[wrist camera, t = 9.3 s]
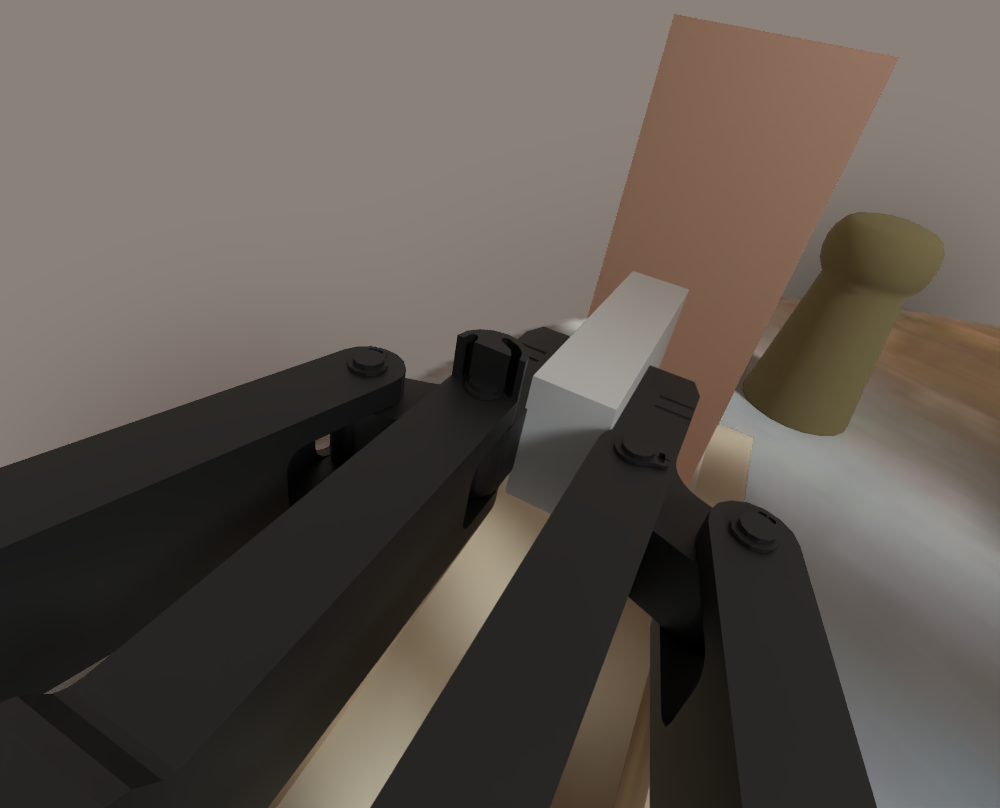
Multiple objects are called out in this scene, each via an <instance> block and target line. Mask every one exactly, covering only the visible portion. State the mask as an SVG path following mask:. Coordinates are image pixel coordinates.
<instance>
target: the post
mask: <svg viewBox="0 0 1000 808" xmlns="http://www.w3.org/2000/svg"><path fill="white" fill-rule="evenodd" d="M898 59H899V57H895V56H889V55H885V54H880V53H874V52H869V51H864V50H859V49H853V48H848V47H843V46H838V45H833V44H827V43H822V42H817V41H812V40H806V39H802V38H796V37H791V36H786V35H781V34H775V33H770V32H765V31H760V30H754V29H750V28H744V27H739V26H734V25H728V24H723V23H718V22H713V21H708V20H703V19H697V18H692V17H687V16H681V15H676V14H674V17H673V20H672V24H671V27H670V31H669V34H668V38H667V41H666V45H665V48H664V52H663V55H662V59H661V62H660V66H659V70H658V73H657V76H656V80H655V83H654V87H653V90H652V94H651V97H650V101H649V104H648V108H647V111H646V115H645V118H644V122H643V125H642V129H641V132H640V136H639V139H638V142H637V147H636V149H635V153H634V156H633V160H632V163H631V167H630V171H629V174H628V178H627V181H626V184H625V188H624V191H623V195H622V199H621V202H620V206H619V209H618V213H617V216H616V220H615V223H614V226H613V230H612V233H611V237H610V240H609V244H608V247H607V251H606V255H605V258H604V262H603V265H602V268H601V272H600V276H599V279H598V282H597V286H596V290H595V293H594V296H593V300H592V304H591V307H590V311H589V314H588V317H587V319H588V318H589V317H590V316H591V315H592V314H593V312H594V311H595V310H596V309H597V308H598V307H599V306H600V305H601V304H602V303H603V302H604V301H605V300H606V299H607V298H608V297H609V296H610V295H611V294H612V293H613V291H614V290H615V289H616V288H617V287H618V286H619V285H620V284H621V283H622V282H623V281H624V280H625V279H626V278H627V277H628V276H629V275H630V274H631V273H632V272H633V271H635V272H638V273H641V274H644V275H647V276H650V277H653V278H656V279H659V280H662V281H665V282H668V283H671V284H674V285H677V286H680V287H683V288H686V289H689V292H688V295H687V297H686V300H685V302H684V305H683V308H682V310H681V313H680V315H679V318H678V320H677V323H676V325H675V328H674V331H673V333H672V336H671V338H670V341H669V343H668V346H667V349H666V351H665V354H664V356H663V359H662V361H661V364H660V366H659V369H662V370H664V371H667V372H669V373H672V374H675V375H677V376H680V377H683V378H685V379H688V380H691V381H693V382H695V384H696V387H697V390H698V392H699V395H700V398H699V401H698V404H697V406H696V409H695V412H694V414H693V417H692V420H691V423H690V425H689V428H688V431H687V433H686V436H685V439H684V441H683V444H682V447H681V450H680V452H679V455H678V458H677V463H676V468H677V472H678V475H679V476H680V478H681V480H682V482H683V483H684V484H685V485H686V486H688V484H689V482H690V480H691V478H692V476H693V474H694V472H695V470H696V468H697V466H698V464H699V462H700V460H701V458H702V456H703V454H704V452H705V450H706V448H707V446H708V444H709V442H710V440H711V438H712V436H713V434H714V432H715V430H716V428H717V426H718V424H719V422H720V419H721V417H722V415H723V413H724V411H725V409H726V407H727V405H728V403H729V401H730V399H731V397H732V395H733V393H734V391H735V389H736V387H737V385H738V383H739V381H740V379H741V377H742V375H743V373H744V371H745V369H746V367H747V365H748V363H749V361H750V359H751V357H752V355H753V353H754V351H755V349H756V346H757V344H758V342H759V340H760V338H761V336H762V334H763V332H764V330H765V328H766V326H767V324H768V322H769V320H770V318H771V316H772V314H773V312H774V310H775V308H776V306H777V304H778V302H779V300H780V298H781V296H782V294H783V292H784V290H785V288H786V286H787V284H788V282H789V279H790V277H791V275H792V273H793V271H794V269H795V267H796V265H797V263H798V261H799V259H800V257H801V255H802V253H803V251H804V249H805V247H806V245H807V243H808V241H809V239H810V237H811V235H812V233H813V230H814V229H815V227H816V225H817V223H818V221H819V219H820V217H821V215H822V213H823V211H824V209H825V206H826V204H827V203H828V200H829V198H830V196H831V194H832V192H833V190H834V188H835V186H836V184H837V182H838V180H839V178H840V176H841V174H842V172H843V170H844V168H845V166H846V164H847V162H848V160H849V158H850V156H851V153H852V152H853V150H854V148H855V146H856V144H857V141H858V140H859V137H860V135H861V134H862V131H863V130H864V127H865V125H866V123H867V121H868V119H869V117H870V115H871V113H872V111H873V109H874V107H875V105H876V103H877V101H878V99H879V97H880V95H881V93H882V91H883V89H884V87H885V85H886V83H887V81H888V79H889V77H890V75H891V73H892V71H893V69H894V67H895V65H896V62H897V61H898Z"/></svg>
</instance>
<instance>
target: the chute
mask: <svg viewBox="0 0 1000 808" xmlns="http://www.w3.org/2000/svg"><path fill="white" fill-rule="evenodd" d="M752 445H753V437H750V436H748V435H745V434H743V433H740V432H737V431H735V430H732V429H730V428H727V427H724V426H722V425H719V424H718V426H717V428H716V430H715V432H714V434H713V436H712V438H711V440H710V442H709V444H708V446H707V448H706V450H705V452H704V454H703V456H702V458H701V460H700V462H699V464H698V466H697V468H696V470H695V472H694V474H693V476H692V478H691V480H690V482H689V484H688V486H687V488H688V489H689V490H690V491H691V492H692V493H694V494H695V495H696V496H697V497H698V498H700V499H701V500H702V501H704V502H705V503H707V504H708V505H710V506H711V507H712V508H713V507H714V506H715V505H716V504H717V503H719V502H724V501H730V500H734V501H740V502H744V499H745V492H746V485H747V479H748V472H749V465H750V458H751V452H752ZM508 477H509V474H508V476H507V477H506V478H505V479H504V481H503V482H502V483H501V485H500V486H499V488H498V493H497V497H496V501H495V503H494V506H493V508H492V510H491V511H490V512H489V514H488V515H487V516H486V518H485V519H484V520H483V522H482V523H481V524H480V526H479V527H478V528H477V530H476V531H475V532H474V534H473V535H472V536H471V538H470V539H469V540H468V542H467V543H466V544H465V546H464V547H463V548H462V550H461V551H460V552H459V554H458V555H457V556H456V558H455V559H454V560H453V562H452V563H451V564H450V566H449V567H448V568H447V570H446V571H445V572H444V574H443V575H442V576H441V578H440V579H439V580H438V582H437V583H436V584H435V586H434V587H433V588H432V590H431V591H430V592H429V594H428V595H427V596H426V598H425V599H424V600H423V602H422V603H421V604H420V606H419V607H418V608H417V610H416V611H415V612H414V614H413V615H412V616H411V618H410V619H409V620H408V622H407V623H406V624H405V626H404V627H403V628H402V630H401V631H400V632H399V634H398V635H397V636H396V638H395V639H394V640H393V642H392V643H391V644H390V646H389V647H388V648H387V650H386V651H385V652H384V654H383V655H382V656H381V658H380V659H379V660H378V662H377V663H376V664H375V666H374V667H373V668H372V670H371V671H370V672H369V674H368V675H367V676H366V678H365V679H364V680H363V682H362V683H361V684H360V686H359V687H358V688H357V690H356V691H355V692H354V694H353V695H352V696H351V698H350V699H349V700H348V702H347V703H346V704H345V706H344V707H343V708H342V710H341V711H340V712H339V714H338V715H337V716H336V718H335V719H334V720H333V722H332V723H331V724H330V726H329V727H328V728H327V730H326V731H325V732H324V734H323V735H322V736H321V738H320V739H319V740H318V742H317V743H316V744H315V746H314V747H313V748H312V750H311V751H310V752H309V754H308V755H307V756H306V758H305V759H304V760H303V762H302V763H301V764H300V766H299V767H298V768H297V770H296V771H295V772H294V774H293V775H292V776H291V778H290V779H289V780H288V782H287V783H286V784H285V786H284V787H283V788H282V790H281V791H280V792H279V794H278V795H277V796H276V798H275V799H274V800H273V802H272V803H271V804H270V806H269V807H268V808H370V807H371V805H372V804H373V802H374V801H375V799H376V797H377V796H378V794H379V792H380V791H381V789H382V788H383V786H384V784H385V783H386V781H387V779H388V778H389V776H390V775H391V773H392V771H393V770H394V768H395V767H396V765H397V763H398V762H399V760H400V758H401V757H402V755H403V754H404V752H405V750H406V749H407V747H408V745H409V744H410V742H411V741H412V739H413V737H414V736H415V734H416V732H417V731H418V729H419V728H420V726H421V724H422V723H423V721H424V720H425V718H426V716H427V715H428V713H429V711H430V710H431V708H432V707H433V705H434V703H435V702H436V700H437V698H438V697H439V695H440V694H441V692H442V690H443V689H444V687H445V685H446V684H447V682H448V681H449V679H450V677H451V676H452V674H453V672H454V671H455V669H456V668H457V666H458V664H459V663H460V661H461V660H462V658H463V656H464V655H465V653H466V651H467V650H468V648H469V647H470V645H471V643H472V642H473V640H474V638H475V637H476V635H477V634H478V632H479V630H480V629H481V627H482V625H483V624H484V622H485V621H486V619H487V617H488V616H489V614H490V613H491V611H492V609H493V608H494V606H495V604H496V603H497V601H498V600H499V598H500V596H501V595H502V593H503V591H504V590H505V588H506V587H507V585H508V583H509V582H510V580H511V578H512V577H513V575H514V574H515V572H516V570H517V569H518V567H519V565H520V564H521V562H522V561H523V559H524V557H525V556H526V554H527V553H528V551H529V549H530V548H531V546H532V544H533V543H534V541H535V540H536V538H537V536H538V535H539V533H540V531H541V530H542V528H543V527H544V525H545V523H546V522H547V520H548V518H549V517H550V515H551V514H550V513H548V512H546V511H544V510H541V509H539V508H537V507H535V506H533V505H531V504H529V503H527V502H525V501H523V500H521V499H519V498H516V497H514V496H512V495H510V494H508V493H506V492H505V490H506V485H507V481H508ZM651 621H652V617H651V616H650V615H648V614H647V613H646V612H645V611H644V610H643V609H642V608H640V607H639V606H638V605H637V604H636V603H635V602H634V601H632V600H631V599H630V598H629V597H628V599H627V601H626V604H625V607H624V609H623V612H622V615H621V617H620V620H619V623H618V626H617V628H616V631H615V634H614V636H613V639H612V642H611V644H610V647H609V650H608V653H607V655H606V658H605V661H604V663H603V666H602V669H601V671H600V674H599V677H598V679H597V682H596V685H595V688H594V690H593V693H592V696H591V698H590V701H589V704H588V706H587V709H586V712H585V715H584V717H583V720H582V723H581V725H580V728H579V731H578V733H577V736H576V739H575V742H574V744H573V747H572V750H571V752H570V755H569V758H568V760H567V763H566V766H565V768H564V771H563V774H562V777H561V779H560V782H559V785H558V787H557V790H556V793H555V795H554V798H553V801H552V804H551V806H550V808H650V625H651Z"/></svg>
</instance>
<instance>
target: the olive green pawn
mask: <svg viewBox="0 0 1000 808" xmlns="http://www.w3.org/2000/svg"><path fill="white" fill-rule="evenodd" d="M943 258H944V244H943V242H942V241H941V240H940V238H939V237H938V236H937V235H936V234H934V233H932V232H931V231H929V230H928V229H926V228H924V227H922V226H921V225H918V224H916V223H914V222H911V221H909V220H906V219H903V218H900V217H896V216H892V215H887V214H879V213H867V212H859V213H854V214H850V215H848V216H846V217H845V218H843V219H842V220H840V221H839V222H837V223H836V224H835V225H834V227H833V228H832V229H831V230H830V231H829V233H828V234H827V236H826V238H825V240H824V242H823V244H822V249H821V254H820V260H821V266H822V271H821V273H820V274H819V275H818V277H817V278H816V280H815V281H814V283H813V284H812V285H811V287H810V288H809V290H808V291H807V293H806V294H805V296H804V297H803V298H802V300H801V301H800V303H799V304H798V306H797V307H796V308H795V310H794V311H793V313H792V314H791V316H790V317H789V318H788V320H787V321H786V323H785V324H784V326H783V327H782V329H781V330H780V331H779V333H778V334H777V336H776V337H775V339H774V340H773V341H772V343H771V344H770V346H769V347H768V349H767V350H766V351H765V353H764V354H763V356H762V357H761V359H760V360H759V362H758V363H757V364H756V366H755V367H754V369H753V370H752V372H751V373H750V374H749V376H748V377H747V379H746V380H745V382H744V384H743V391H744V393H745V395H746V397H747V399H748V400H749V401H750V402H751V403H752V404H753V405H754V406H755V407H756V408H757V409H758V410H759V411H761V412H762V413H764V414H765V415H767V416H768V417H769V418H771V419H773V420H775V421H777V422H779V423H781V424H783V425H785V426H787V427H790V428H793V429H796V430H798V431H801V432H804V433H809V434H814V435H820V436H834V435H837V434H840V433H842V432H844V431H845V429H846V427H847V426H848V424H849V421H850V419H851V417H852V415H853V412H854V410H855V408H856V406H857V404H858V401H859V399H860V397H861V395H862V393H863V390H864V388H865V386H866V384H867V382H868V379H869V377H870V375H871V373H872V371H873V368H874V366H875V364H876V362H877V360H878V357H879V355H880V353H881V351H882V349H883V346H884V344H885V342H886V340H887V338H888V335H889V333H890V331H891V329H892V327H893V324H894V322H895V320H896V318H897V316H898V313H899V311H900V309H901V307H902V305H903V302H904V300H905V299H906V298H909V297H911V296H913V295H915V294H917V293H919V292H920V291H922V290H923V289H924V288H925V287H926V286H927V285H928V284H929V283H930V282H931V280H932V279H933V277H934V276H935V275H936V273H937V272H938V270H939V269H940V267H941V264H942V261H943Z"/></svg>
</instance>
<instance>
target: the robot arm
mask: <svg viewBox="0 0 1000 808" xmlns="http://www.w3.org/2000/svg"><path fill="white" fill-rule="evenodd" d="M688 292H689V289H686V288H683V287H680V286H677V285H674V284H671V283H668V282H665V281H662V280H659V279H656V278H653V277H650V276H647V275H644V274H641V273H638V272H635V271H633V272H632V273H631V274H630V275H629V276H628V277H627V278H626V279H625V280H624V281H623V282H622V283H621V284H620V285H619V286H618V287H617V288H616V289H615V290H614V291H613V293H612V294H611V295H610V296H609V297H608V298H607V299H606V300H605V301H604V302H603V303H602V304H601V305H600V306H599V307H598V308H597V309H596V310H595V311H594V312H593V314H592V315H591V316H590V317H589V318H588V319H587V320H586V321H585V322H584V323H583V324H582V325H581V326H580V327H579V328H578V329H577V330H576V331H575V332H574V333H573V334H572V336H571V337H570V336H567V335H564V334H562V333H559V332H556V331H554V330H551V329H548V328H546V327H541V328H538V329H534V330H531V331H527V332H526V333H525V334H523V335H522V336H521V337H520V338H519V339H518V340H517V339H515V338H513V337H512V336H510V335H508V334H504V333H500V332H497V331H492V330H481V329H479V330H471V331H466V332H464V333H462V334H459V335H458V337H457V343H456V350H455V357H454V364H453V371H452V375H451V376H450V377H449V378H448V379H446V380H445V381H444V382H443V383H441V384H433V383H427V382H422V381H417V380H412V379H408V378H405V372H406V368H405V364H404V361H403V360H402V359H401V358H400V357H399V356H398V355H396V354H394V353H392V352H390V351H388V350H385V349H382V348H377V347H372V346H369V347H354V348H349V349H345V350H342V351H339V352H336V353H333V354H330V355H327V356H324V357H321V358H319V359H315V360H313V361H310V362H307V363H304V364H301V365H298V366H295V367H292V368H290V369H286V370H284V371H281V372H278V373H275V374H272V375H269V376H266V377H263V378H260V379H257V380H254V381H252V382H249V383H246V384H243V385H240V386H237V387H234V388H231V389H228V390H225V391H222V392H219V393H217V394H214V395H211V396H208V397H205V398H202V399H199V400H196V401H194V402H190V403H188V404H185V405H182V406H179V407H176V408H173V409H170V410H167V411H165V412H162V413H159V414H155V415H153V416H150V417H147V418H144V419H141V420H138V421H135V422H132V423H129V424H127V425H124V426H121V427H118V428H115V429H112V430H109V431H106V432H103V433H100V434H97V435H95V436H92V437H89V438H86V439H83V440H80V441H77V442H74V443H71V444H68V445H65V446H62V447H60V448H57V449H54V450H51V451H48V452H45V453H42V454H40V455H36V456H34V457H31V458H28V459H25V460H22V461H19V462H16V463H13V464H10V465H7V466H4V467H1V468H0V808H268V807H269V806H270V804H271V803H272V802H273V800H274V799H275V798H276V796H277V795H278V794H279V792H280V791H281V790H282V788H283V787H284V786H285V784H286V783H287V782H288V780H289V779H290V778H291V776H292V775H293V774H294V772H295V771H296V770H297V768H298V767H299V766H300V764H301V763H302V762H303V760H304V759H305V758H306V756H307V755H308V754H309V752H310V751H311V750H312V748H313V747H314V746H315V744H316V743H317V742H318V740H319V739H320V738H321V736H322V735H323V734H324V732H325V731H326V730H327V728H328V727H329V726H330V724H331V723H332V722H333V720H334V719H335V718H336V716H337V715H338V714H339V712H340V711H341V710H342V708H343V707H344V706H345V704H346V703H347V702H348V700H349V699H350V698H351V696H352V695H353V694H354V692H355V691H356V690H357V688H358V687H359V686H360V684H361V683H362V682H363V680H364V679H365V678H366V676H367V675H368V674H369V672H370V671H371V670H372V668H373V667H374V666H375V664H376V663H377V662H378V660H379V659H380V658H381V656H382V655H383V654H384V652H385V651H386V650H387V648H388V647H389V646H390V644H391V643H392V642H393V640H394V639H395V638H396V636H397V635H398V634H399V632H400V631H401V630H402V628H403V627H404V626H405V624H406V623H407V622H408V620H409V619H410V618H411V616H412V615H413V614H414V612H415V611H416V610H417V608H418V607H419V606H420V604H421V603H422V602H423V600H424V599H425V598H426V596H427V595H428V594H429V592H430V591H431V590H432V588H433V587H434V586H435V584H436V583H437V582H438V580H439V579H440V578H441V576H442V575H443V574H444V572H445V571H446V570H447V568H448V567H449V566H450V564H451V563H452V562H453V560H454V559H455V558H456V556H457V555H458V554H459V552H460V551H461V550H462V548H463V547H464V546H465V544H466V543H467V542H468V540H469V539H470V538H471V536H472V535H473V534H474V532H475V531H476V530H477V528H478V527H479V526H480V524H481V523H482V522H483V520H484V519H485V518H486V516H487V515H488V514H489V512H490V511H491V510H492V508H493V506H494V503H495V501H496V497H497V493H498V488H499V486H500V485H501V483H502V482H503V481H504V479H505V478H506V477H507V476H508V474H509V477H508V481H507V485H506V490H505V492H506V493H508V494H510V495H512V496H514V497H516V498H519V499H521V500H523V501H525V502H527V503H529V504H531V505H533V506H535V507H537V508H539V509H541V510H544V511H546V512H548V513H550V514H551V515H550V517H549V518H548V520H547V522H546V523H545V525H544V527H543V528H542V530H541V531H540V533H539V535H538V536H537V538H536V540H535V541H534V543H533V544H532V546H531V548H530V549H529V551H528V553H527V554H526V556H525V557H524V559H523V561H522V562H521V564H520V565H519V567H518V569H517V570H516V572H515V574H514V575H513V577H512V578H511V580H510V582H509V583H508V585H507V587H506V588H505V590H504V591H503V593H502V595H501V596H500V598H499V600H498V601H497V603H496V604H495V606H494V608H493V609H492V611H491V613H490V614H489V616H488V617H487V619H486V621H485V622H484V624H483V625H482V627H481V629H480V630H479V632H478V634H477V635H476V637H475V638H474V640H473V642H472V643H471V645H470V647H469V648H468V650H467V651H466V653H465V655H464V656H463V658H462V660H461V661H460V663H459V664H458V666H457V668H456V669H455V671H454V672H453V674H452V676H451V677H450V679H449V681H448V682H447V684H446V685H445V687H444V689H443V690H442V692H441V694H440V695H439V697H438V698H437V700H436V702H435V703H434V705H433V707H432V708H431V710H430V711H429V713H428V715H427V716H426V718H425V720H424V721H423V723H422V724H421V726H420V728H419V729H418V731H417V732H416V734H415V736H414V737H413V739H412V741H411V742H410V744H409V745H408V747H407V749H406V750H405V752H404V754H403V755H402V757H401V758H400V760H399V762H398V763H397V765H396V767H395V768H394V770H393V771H392V773H391V775H390V776H389V778H388V779H387V781H386V783H385V784H384V786H383V788H382V789H381V791H380V792H379V794H378V796H377V797H376V799H375V801H374V802H373V804H372V805H371V807H370V808H550V806H551V804H552V801H553V798H554V795H555V793H556V790H557V787H558V785H559V782H560V779H561V777H562V774H563V771H564V768H565V766H566V763H567V760H568V758H569V755H570V752H571V750H572V747H573V744H574V742H575V739H576V736H577V733H578V731H579V728H580V725H581V723H582V720H583V717H584V715H585V712H586V709H587V706H588V704H589V701H590V698H591V696H592V693H593V690H594V688H595V685H596V682H597V679H598V677H599V674H600V671H601V669H602V666H603V663H604V661H605V658H606V655H607V653H608V650H609V647H610V644H611V642H612V639H613V636H614V634H615V631H616V628H617V626H618V623H619V620H620V617H621V615H622V612H623V609H624V607H625V604H626V601H627V599H628V597H629V598H630V599H631V600H632V601H634V602H635V603H636V604H637V605H638V606H639V607H640V608H642V609H643V610H644V611H645V612H646V613H647V614H648V615H650V616H651V617H652V621H651V625H650V808H877V806H876V803H875V799H874V796H873V793H872V789H871V786H870V782H869V779H868V776H867V772H866V769H865V765H864V762H863V759H862V755H861V752H860V748H859V745H858V742H857V738H856V735H855V731H854V728H853V725H852V721H851V718H850V714H849V711H848V708H847V704H846V701H845V697H844V694H843V691H842V687H841V684H840V680H839V677H838V674H837V670H836V667H835V663H834V660H833V656H832V653H831V650H830V646H829V643H828V639H827V636H826V633H825V629H824V626H823V622H822V619H821V616H820V612H819V609H818V605H817V602H816V599H815V595H814V592H813V588H812V585H811V582H810V578H809V575H808V571H807V568H806V565H805V561H804V558H803V554H802V551H801V548H800V545H799V543H798V541H797V540H796V538H795V536H794V534H793V532H792V531H791V530H790V529H789V528H788V527H787V526H786V525H785V524H784V523H783V522H782V521H781V520H780V519H778V518H777V517H775V516H774V515H772V514H771V513H769V512H768V511H766V510H765V509H762V508H760V507H757V506H755V505H752V504H750V503H747V502H740V501H734V500H730V501H724V502H719V503H717V504H716V505H715V506H714V507H713V508H712V507H711V506H710V505H708V504H707V503H705V502H704V501H702V500H701V499H700V498H698V497H697V496H696V495H695V494H694V493H692V492H691V491H690V490H689V489H688V488H687V486H686V485H685V484H684V483H683V482H682V480H681V478H680V476H679V475H678V472H677V468H676V463H677V458H678V455H679V452H680V450H681V447H682V444H683V441H684V439H685V436H686V433H687V431H688V428H689V425H690V423H691V420H692V417H693V414H694V412H695V409H696V406H697V404H698V401H699V398H700V395H699V392H698V390H697V387H696V384H695V382H693V381H691V380H688V379H685V378H683V377H680V376H677V375H675V374H672V373H669V372H667V371H664V370H662V369H659V366H660V364H661V361H662V359H663V356H664V354H665V351H666V349H667V346H668V343H669V341H670V338H671V336H672V333H673V331H674V328H675V325H676V323H677V320H678V318H679V315H680V313H681V310H682V308H683V305H684V302H685V300H686V297H687V295H688ZM328 434H330V446H329V447H327V448H325V449H321V450H317V451H316V449H315V440H317V439H319V438H321V437H324V436H326V435H328ZM113 652H114V653H113ZM110 654H111V655H110ZM108 655H110V656H109V657H107V656H108ZM105 657H107V658H106V659H105V660H104V661H103V662H101V663H100V664H99V665H98V666H97V667H95V668H94V669H93V670H92V671H90V672H89V673H88V674H87V675H86V676H84V677H83V678H81V679H80V680H78V681H77V682H75V683H74V684H73V685H71V686H70V687H68V688H65V689H63V690H61V691H58V692H56V693H53V694H44V693H46V692H47V691H49V690H51V689H52V688H54V687H56V686H58V685H59V684H61V683H63V682H64V681H66V680H68V679H69V678H71V677H73V676H74V675H76V674H78V673H80V672H81V671H83V670H85V669H86V668H88V667H90V666H91V665H93V664H95V663H96V662H98V661H100V660H102V659H103V658H105Z"/></svg>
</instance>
